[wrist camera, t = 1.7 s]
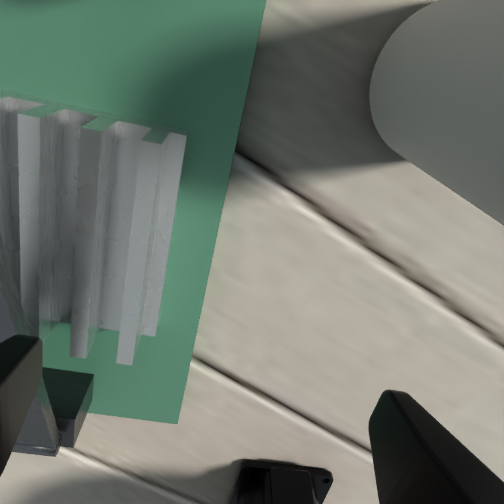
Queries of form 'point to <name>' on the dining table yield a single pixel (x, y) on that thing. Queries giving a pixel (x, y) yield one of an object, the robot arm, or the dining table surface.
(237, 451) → the dining table surface
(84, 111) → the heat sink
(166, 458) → the dining table surface
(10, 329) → the strap
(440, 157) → the beverage can
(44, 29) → the circuit board
